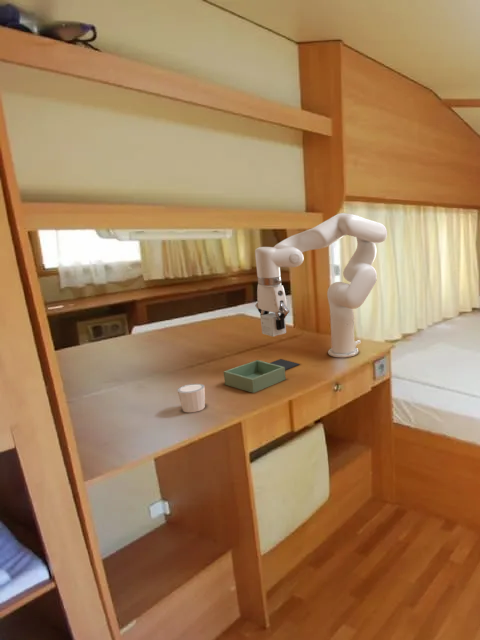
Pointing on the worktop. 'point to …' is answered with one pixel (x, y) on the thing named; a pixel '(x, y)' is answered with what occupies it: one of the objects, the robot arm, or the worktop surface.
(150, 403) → the worktop surface
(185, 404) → the shot glass
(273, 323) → the product box
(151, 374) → the worktop surface
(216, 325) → the worktop surface
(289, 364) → the mat
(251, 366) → the green square tray
